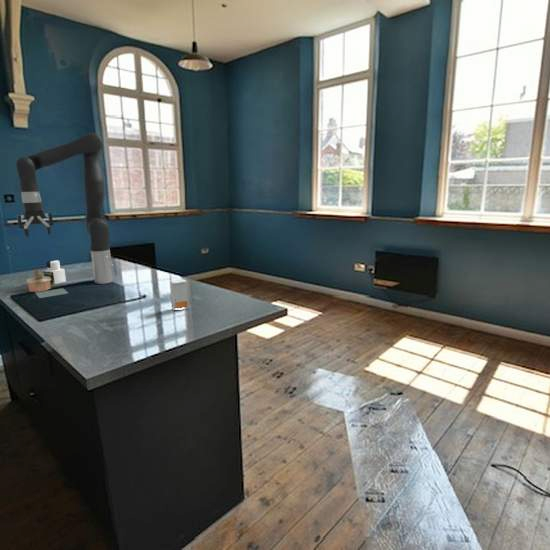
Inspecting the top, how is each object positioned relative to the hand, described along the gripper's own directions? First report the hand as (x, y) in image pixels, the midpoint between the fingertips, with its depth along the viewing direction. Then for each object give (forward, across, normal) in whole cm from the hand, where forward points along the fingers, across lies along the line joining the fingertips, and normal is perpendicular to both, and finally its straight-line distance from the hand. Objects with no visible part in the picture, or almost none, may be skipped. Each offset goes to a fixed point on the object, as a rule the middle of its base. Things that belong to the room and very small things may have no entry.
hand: (38, 235), depth 183 cm
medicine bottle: (+27, -6, -13) cm, 31 cm away
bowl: (+27, +3, -1) cm, 27 cm away
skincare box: (+28, -36, +73) cm, 86 cm away
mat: (+27, 0, +11) cm, 29 cm away
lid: (+22, +3, -1) cm, 23 cm away
